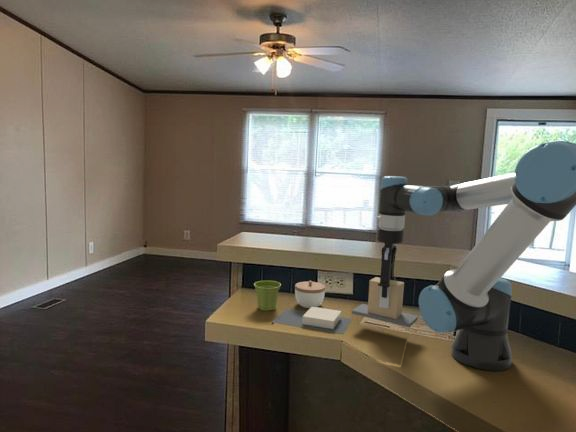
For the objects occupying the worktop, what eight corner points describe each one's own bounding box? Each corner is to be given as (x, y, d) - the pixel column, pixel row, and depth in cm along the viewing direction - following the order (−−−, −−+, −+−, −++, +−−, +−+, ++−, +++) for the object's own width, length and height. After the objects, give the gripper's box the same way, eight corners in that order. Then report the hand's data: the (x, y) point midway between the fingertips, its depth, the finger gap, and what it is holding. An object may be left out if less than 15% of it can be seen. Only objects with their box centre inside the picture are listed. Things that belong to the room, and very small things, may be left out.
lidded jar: (325, 312, 154) (326, 286, 153) (294, 311, 154) (295, 284, 153) (323, 302, 165) (324, 277, 163) (294, 301, 165) (295, 276, 163)
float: (417, 319, 135) (420, 284, 134) (409, 327, 128) (412, 290, 127) (362, 306, 145) (364, 273, 143) (351, 313, 138) (353, 278, 136)
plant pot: (249, 310, 153) (249, 286, 152) (258, 302, 162) (259, 279, 161) (275, 314, 150) (276, 289, 149) (283, 305, 159) (284, 282, 158)
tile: (341, 310, 146) (311, 306, 149) (333, 321, 137) (302, 316, 140) (340, 319, 146) (311, 314, 150) (333, 330, 137) (302, 324, 140)
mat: (352, 320, 147) (352, 318, 147) (343, 336, 134) (343, 334, 134) (286, 310, 155) (286, 308, 155) (271, 324, 142) (271, 322, 142)
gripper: (382, 223, 143) (377, 293, 146) (372, 232, 125) (367, 311, 128) (406, 225, 140) (401, 296, 143) (400, 234, 123) (394, 316, 126)
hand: (385, 303), depth 136 cm, fingers closed on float, 6 cm apart
